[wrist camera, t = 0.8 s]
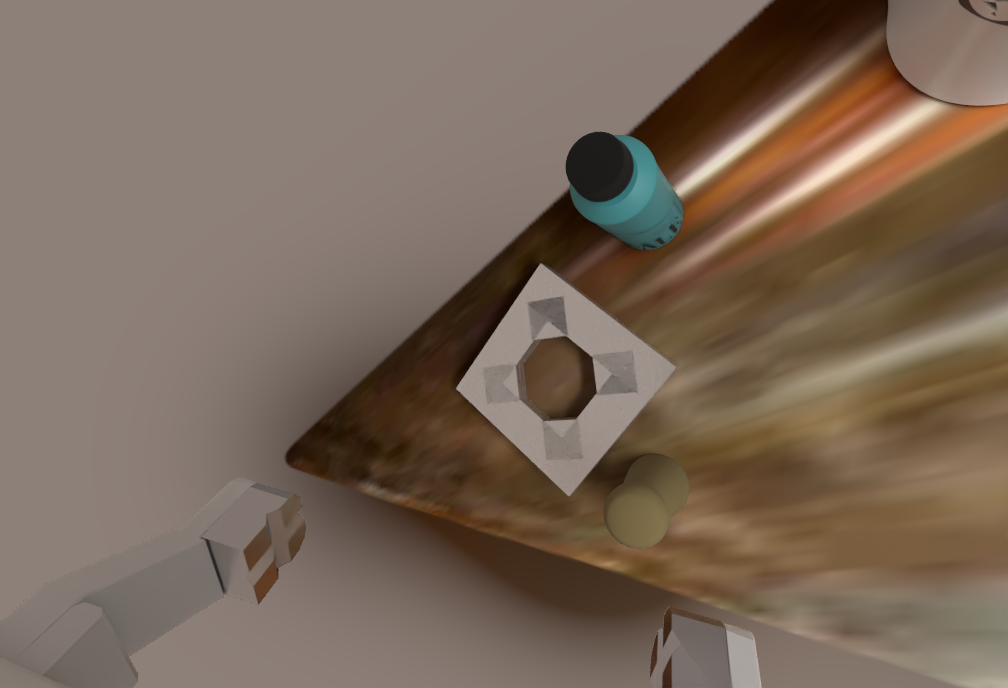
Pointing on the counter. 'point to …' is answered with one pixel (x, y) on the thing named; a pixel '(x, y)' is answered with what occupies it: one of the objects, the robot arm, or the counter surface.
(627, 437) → the counter surface
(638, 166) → the beverage bottle
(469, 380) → the jig plate
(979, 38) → the robot arm
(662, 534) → the olive peg doll
